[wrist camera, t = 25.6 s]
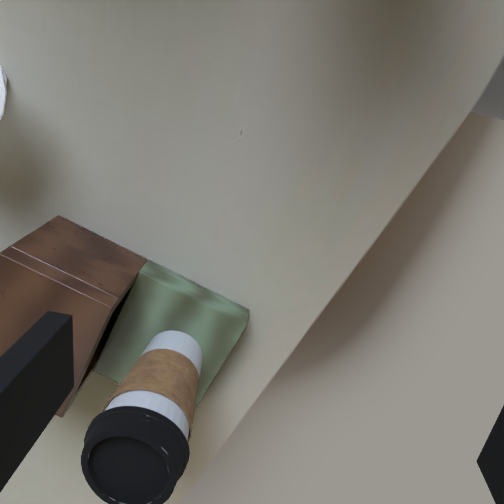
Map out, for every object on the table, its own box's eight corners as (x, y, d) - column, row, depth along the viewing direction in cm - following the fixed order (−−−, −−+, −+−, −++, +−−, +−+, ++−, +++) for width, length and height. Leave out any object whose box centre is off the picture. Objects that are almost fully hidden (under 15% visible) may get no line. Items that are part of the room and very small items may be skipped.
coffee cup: (146, 387, 48) (88, 514, 35) (128, 322, 45) (56, 433, 31) (220, 383, 47) (191, 513, 34) (207, 316, 44) (169, 429, 30)
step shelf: (249, 309, 47) (239, 368, 38) (195, 397, 52) (175, 468, 43) (58, 214, 44) (-2, 253, 35) (22, 317, 50) (-39, 373, 40)
